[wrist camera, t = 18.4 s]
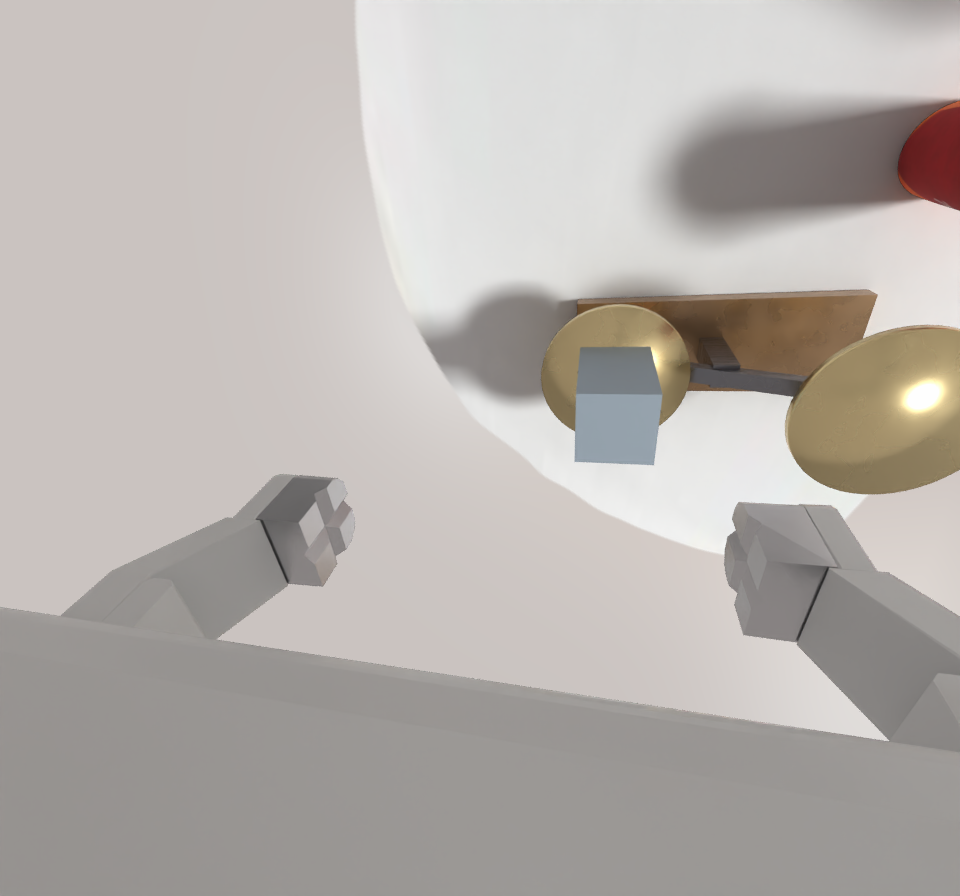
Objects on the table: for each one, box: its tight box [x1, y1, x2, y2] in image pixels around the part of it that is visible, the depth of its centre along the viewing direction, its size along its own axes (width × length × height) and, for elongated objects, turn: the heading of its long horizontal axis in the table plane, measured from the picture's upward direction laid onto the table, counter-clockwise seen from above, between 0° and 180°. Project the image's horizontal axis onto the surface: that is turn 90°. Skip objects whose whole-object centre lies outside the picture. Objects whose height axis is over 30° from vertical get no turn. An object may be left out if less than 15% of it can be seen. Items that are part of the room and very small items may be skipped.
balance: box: [541, 290, 960, 494], centre depth 35 cm, size 11×27×14 cm, turn 95°
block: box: [575, 346, 663, 465], centre depth 33 cm, size 5×5×8 cm
